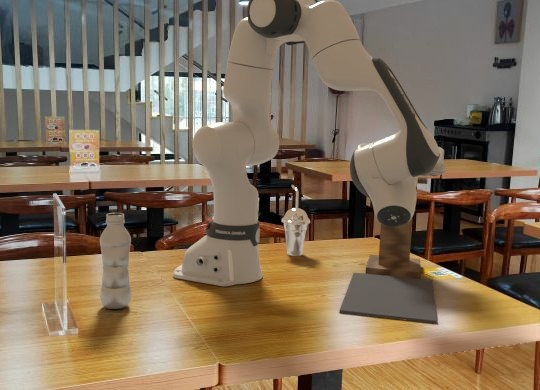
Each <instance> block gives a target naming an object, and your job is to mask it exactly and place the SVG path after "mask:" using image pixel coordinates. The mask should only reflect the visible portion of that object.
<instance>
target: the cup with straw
mask: <svg viewBox="0 0 540 390" xmlns="http://www.w3.org/2000/svg"><path fill="white" fill-rule="evenodd" d="M291 187H292V190H294V191H295V207H292V208H290V209H288V210H287V211H286V212H285V214H284V216H283V217H282V218H281V223H283V226H284V227H283V228H284V231H285V233H284V234H285V247H286V248H285V249H286V251H287V252H286V254H287V255H288V256H291V257H292V256H293V257H301V256H302V255H303V252H304V244H305V240H306V239H305V237H306V232H307V229H308V225H309V224H311V220H310V218H309V217H308V214H307V213H306V211H305V210H304V209H301V208H299V195H300V194H299V193H300V192H299V189H298V188H297V187H296V186H295V185H294V184H291Z"/></svg>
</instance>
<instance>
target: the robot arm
mask: <svg viewBox="0 0 540 390" xmlns="http://www.w3.org/2000/svg"><path fill="white" fill-rule="evenodd" d="M283 44H285V45H287V46H293V45H299V44H306V46H307V49H308V52H309V54H310V57H311V59H312V62H313V65H314V68H315V69H314V70H315V71H316V74H317V75H318V77H319V79H320V82H322V84H324V85H325V86H326V87H329V88H331V89H332V90H335V91H339V92H342V91H343V92H356V91H357V92H358V91H371V92H375V93H377V94H378V95H379V96H380V97H381V98H382V99H383V101H384V102H385V105H386V106H387V108H388V109H389V111H390V113H391V114H392V117H393V119H394V120H395V122H396V123H397V125H398V127H399V130H398V131H397V132H396V133H393V134H391V135H388V136H386V137H384V138H380V139H379V140H375V141H373V142H370V143H360V144H359V145H357V148H356V149H354V151H353V153H352V155H351V157H350V162H349V163H350V164H349V173H350V177H351V181H352V183H353V184H354V186H355V188H357V190H358V191H359V192H360V193H361V194H363V195H364V196H365V197H366V198H367V199H370V200H371V203H372V204H371V205H372V206H373V211H374V216H375V219H376V220H377V222H378V223H379V224H380V225H381V224H383V225H385V226H389V227H396V226H401V225H404V224H406V223H408V222H409V221H410V220H411V218H412V219H413V217H412V216H414V214H415V211H416V205H417V199H418V198H417V196H418V195H417V194H418V193H417V192H418V191H417V187H418V183H417V182H418V176H427V177H439V176H441V175H444V174H445V173H446V165H445V164H444V160H445V159H444V156H445V149H443V148H442V147H440V146H438V145H439V144H437V141H436V140H435V138H434V136H433V135H432V133H431V132H430V131H429V130H428V127H426V125H425V124H424V122H423V121H422V119H421V117H420V116H419V114H418V112H417V110H416V109H415V108H414V105H413V104H412V101H411V100H410V98H409V97H408V95H407V94H406V92H405V90H404V88H403V86H402V85H401V83H400V82H399V80H398V79H397V76H396V75H395V73H394V72H393V71H392V69H391V68H390V66H389V65H388V64H387V63H386V62H385V60H384V59H382V58H380V57H373V56H372V55H370V54H369V52H368V51H367V50H366V49H365V47H364V45H363V43H362V40H361V37H360V36H359V33H358V30H357V28H356V26H355V24H354V22H353V20H352V18H351V16H350V14H349V13H348V11H347V10H346V8H345V6H344V5H343V4H342V3H341V2H339V1H337V0H321V1H318V0H249V1H248V4H247V8H246V17H244V18H242V19H241V20H240V21H238V23H237V24H236V27H235V30H234V32H233V35H232V39H231V42H230V47H229V52H228V56H227V62H226V68H225V74H224V75H225V76H224V81H223V87H222V88H223V89H222V92H223V97H224V98H225V100H226V101H227V102H228V103H229V105H230V107H231V111H232V121H216V122H213V123H210V124H207V125H204V126H201V127H200V128H198V129H197V131H196V132H195V133H194V135H193V138H192V151H193V155H194V157H195V159H196V161H197V162H198V163H199V164H200V165H202V166H203V168H204V169H205V170H206V172H207V174H208V177H209V180H210V182H211V185H212V192H213V218H212V219H210V220H209V222H207V223H206V225H204V229H203V230H205V231H206V232H205V233H206V235H204V236H203V237H201V238H200V239H199V240H198V241H196V242H194V244H192V245H191V246H189V247H188V248H187V250H186V251H185V252H184V255H183V258H182V264H180V265H179V266H177V267H176V268H175V269H174V270H173V275H172V276H173V277H174V278H175V279H178V280H179V279H180V280H186V281H192V282H196V283H202V284H207V285H212V286H213V285H214V286H219V287H230V286H235V285H241V284H243V285H244V284H249V283H253V282H254V283H255V282H257V281H260V280H261V279H262V278H263V276H264V275H263V272H262V267H261V263H260V255H259V243H260V239H261V238H260V234H261V229H260V222H259V220H258V219H259V191H258V189H257V188H256V187H255V186H254V185H253V184H252V183H251V182H250V180H249V178H248V175H247V169H246V168H247V166H257V165H261V164H264V163H266V162H268V161H271V160H273V159H274V158H275V157H276V155H277V154H278V152H279V149H280V138H279V134H278V132H277V131H276V130H275V128H274V127H273V124H272V122H271V121H272V120H271V116H270V109H269V108H270V107H269V104H270V103H269V102H270V101H269V99H270V92H271V84H272V80H273V71H274V67H275V59H276V55H277V51H278V50H279V48H280V47H281V46H282V45H283Z"/></svg>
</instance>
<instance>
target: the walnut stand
mask: <svg viewBox="0 0 540 390" xmlns="http://www.w3.org/2000/svg"><path fill="white" fill-rule="evenodd" d="M417 184H418V185H419V184H420V185H421V184H422V185H427V184H428V176H418V182H417ZM413 216H414V215H413ZM413 216H412V218H411V220H410V221H409V222H408V223H406V224H404V225H401V226H396V227H389V226H385V225H383V224H381V223H380V229H379V231H380V232H379V248H378V250H379V251H378V255H376V254H375V255H374V254H369V255H368V260H367V262H366V265H365V266H366V267H365V274H375V275H385V276H395V277H406V278H416V279H421V274H422V273H421V265H422V264H421V258H412V257H411V254H410V253H411V246H412V245H411V243H412V229H413V226H412V225H413Z"/></svg>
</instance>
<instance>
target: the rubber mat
mask: <svg viewBox="0 0 540 390" xmlns="http://www.w3.org/2000/svg"><path fill="white" fill-rule="evenodd" d="M433 281H434V280H433V279H427V278H425V279H424V278H420V279H416V278H406V277H395V276H385V275H375V274H366V273H363V272H353V273H352V277H351V279H350V282H349V284H348V286H347V289H346V292H345V294H344V298H343V300H342V302H341V305H340V308H339V311H338V312H339V314H340V313H341V314H348V315H355V316H364V317H365V316H366V317H373V316H375V317H374V318H382V317H387V318H386V319H391V318H396V319H395V320H399V319H406V320H405V321H408V320H414V321H413V322H417V321H422V322H421V323H426V322H431V323H430V324H435V323H436V324H437V311H436V299H435V292H434V282H433Z"/></svg>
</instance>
